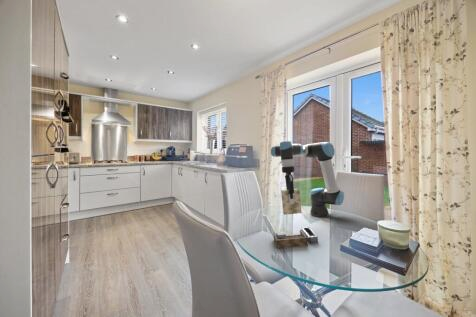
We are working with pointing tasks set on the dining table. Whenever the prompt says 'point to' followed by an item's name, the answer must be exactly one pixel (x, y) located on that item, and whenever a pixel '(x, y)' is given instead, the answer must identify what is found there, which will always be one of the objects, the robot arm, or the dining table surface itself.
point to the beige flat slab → (286, 204)
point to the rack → (291, 240)
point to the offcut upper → (280, 234)
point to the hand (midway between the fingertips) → (291, 203)
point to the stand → (313, 237)
